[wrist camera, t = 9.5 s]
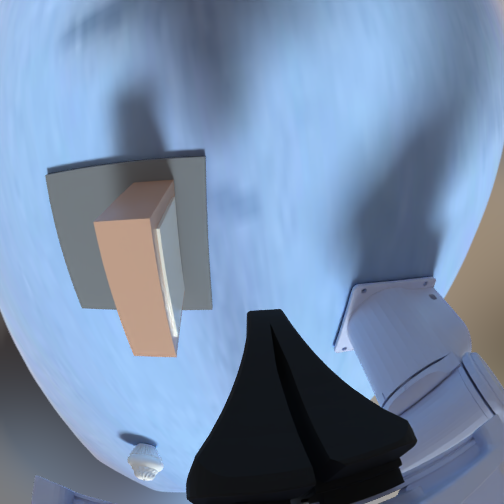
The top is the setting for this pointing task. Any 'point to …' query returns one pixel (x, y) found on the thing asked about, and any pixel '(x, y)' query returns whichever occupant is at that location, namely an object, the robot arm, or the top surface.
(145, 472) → the muffin
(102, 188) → the mat
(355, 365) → the top surface
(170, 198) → the block
